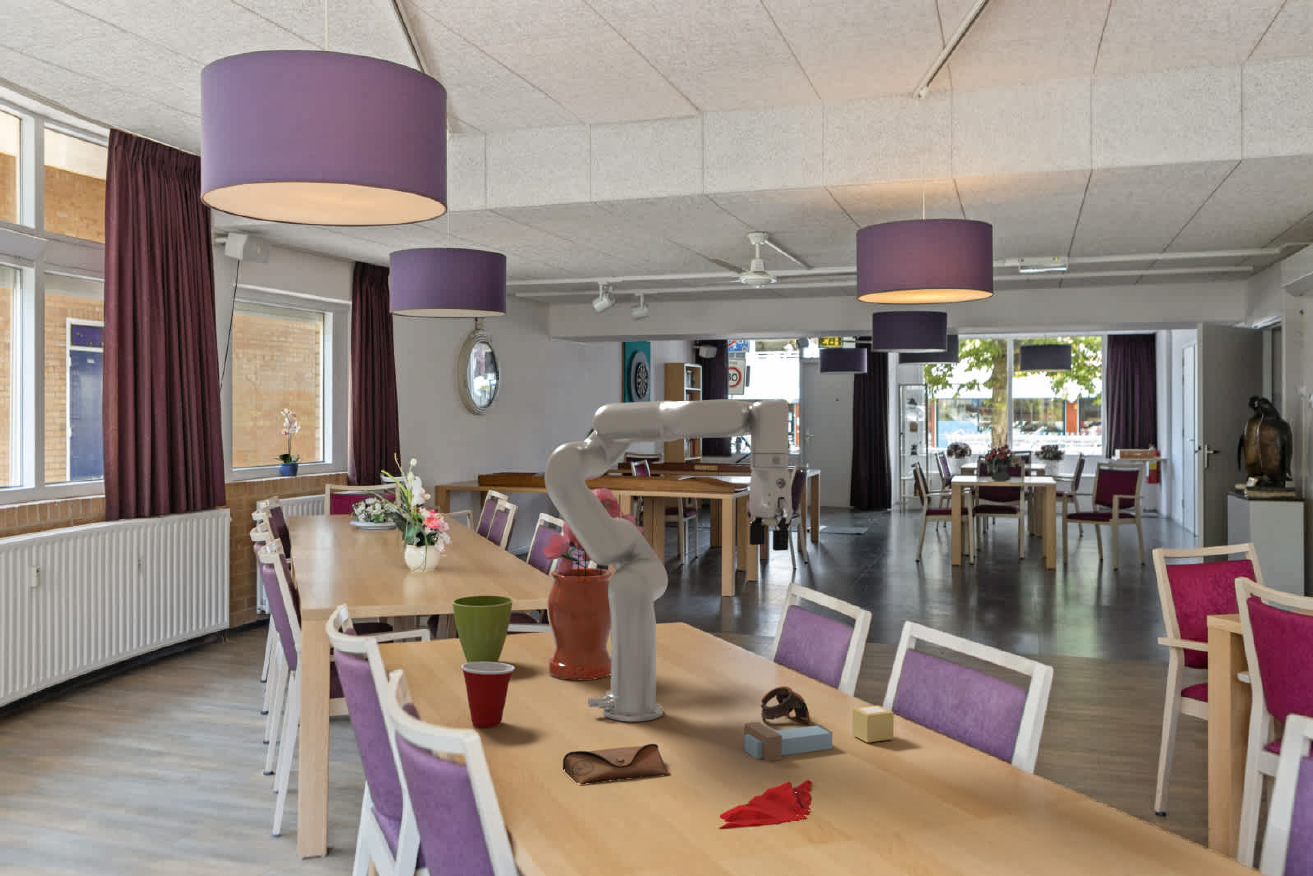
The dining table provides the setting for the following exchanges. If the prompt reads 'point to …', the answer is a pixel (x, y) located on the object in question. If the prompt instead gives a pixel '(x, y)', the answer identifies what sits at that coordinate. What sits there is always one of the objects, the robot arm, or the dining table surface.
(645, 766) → the sunglasses case
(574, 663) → the potted flower
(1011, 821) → the dining table surface
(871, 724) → the stub
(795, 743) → the banded blue brick
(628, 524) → the robot arm
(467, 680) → the plastic cup
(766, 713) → the brown looped band
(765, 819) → the cloth
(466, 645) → the flower pot
